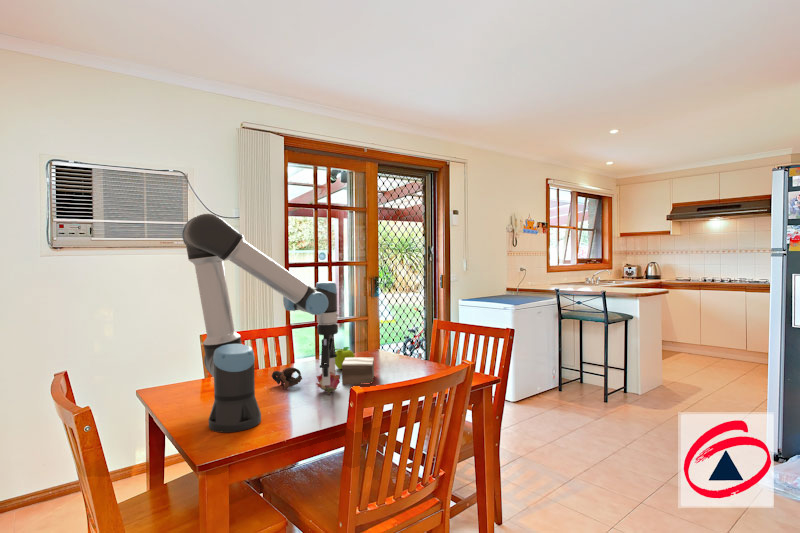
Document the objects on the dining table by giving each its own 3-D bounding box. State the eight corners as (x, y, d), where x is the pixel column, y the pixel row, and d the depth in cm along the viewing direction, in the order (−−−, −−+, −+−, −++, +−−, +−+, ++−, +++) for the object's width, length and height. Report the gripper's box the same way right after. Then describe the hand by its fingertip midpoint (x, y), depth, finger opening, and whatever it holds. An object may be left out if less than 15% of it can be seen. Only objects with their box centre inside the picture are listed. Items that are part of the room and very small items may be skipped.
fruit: (329, 369, 203) (329, 347, 203) (344, 365, 210) (344, 344, 210) (343, 373, 197) (343, 350, 197) (358, 368, 204) (358, 346, 204)
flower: (343, 391, 165) (343, 370, 169) (319, 389, 161) (319, 368, 166) (335, 400, 172) (336, 380, 176) (311, 398, 168) (312, 378, 173)
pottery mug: (302, 383, 184) (305, 367, 180) (296, 399, 176) (299, 384, 172) (273, 376, 184) (275, 360, 180) (265, 392, 175) (268, 377, 171)
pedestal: (372, 384, 180) (372, 364, 179) (342, 384, 180) (342, 364, 179) (374, 376, 192) (373, 357, 191) (345, 376, 192) (345, 357, 191)
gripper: (332, 328, 156) (334, 389, 157) (341, 317, 181) (343, 370, 182) (311, 329, 156) (313, 390, 157) (322, 318, 181) (324, 370, 182)
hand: (329, 379), depth 170 cm, fingers open, 13 cm apart
